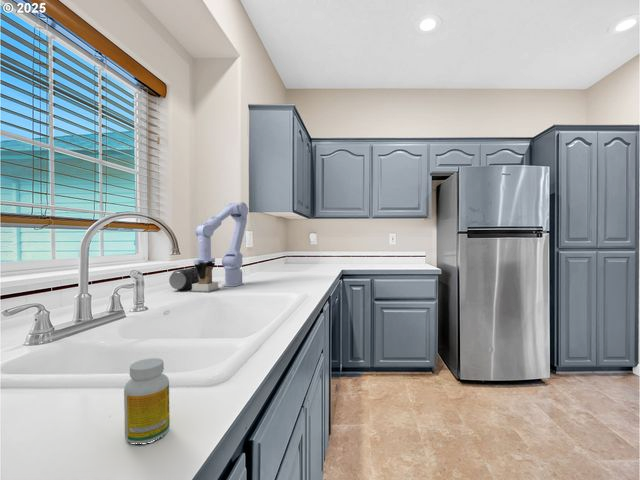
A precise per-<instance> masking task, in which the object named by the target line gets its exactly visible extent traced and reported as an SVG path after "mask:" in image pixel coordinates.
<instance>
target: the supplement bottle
mask: <svg viewBox="0 0 640 480" xmlns="http://www.w3.org/2000/svg"><path fill="white" fill-rule="evenodd" d="M164 366H165V365H164V360H163V359H162V358H157V357H155V358H154V357H151V358H146V359H145V358H144V359H141V360H138V361H135V362H133V363H132V364H130V366H129V377H130V379H129V380H128V381H127V382H126V383H125V385H124V389H123V397H124V400H123V401H124V402H123V403H124V404H123V405H124V408H123V409H124V440H125V441H126V443H128V442H130V443H135V444H136V443H137V444H140V443H141V444H142V443H148V442H151V441H153V440H156V439H158V438H160V437H162V436H163V435H164V434H166V435H167V433H168V432H169V430H170V428H171V427H170V426H171V425H170V422H171V421H170V380H169V377H168V375H166V374H165V373H164V369H165V367H164ZM169 427H170V428H169ZM167 431H168V432H167ZM163 437H164V436H163ZM163 437H162V438H163Z"/></svg>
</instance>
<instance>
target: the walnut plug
mask: <svg viewBox="0 0 640 480" xmlns="http://www.w3.org/2000/svg"><path fill="white" fill-rule="evenodd" d="M212 282H213V269H212V266H207V267H206V270H205V278H204V279H200V277H199V284H209V283H212Z"/></svg>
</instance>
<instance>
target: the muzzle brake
mask: <svg viewBox="0 0 640 480" xmlns="http://www.w3.org/2000/svg"><path fill="white" fill-rule="evenodd" d="M168 281H169V286H171V288H173V289H175V290H179V291H186V290H189V288H192V284H194V283H199V274H198V271H197V269H196V267H195V266H194V267H190V268H185V269H184V268H183V269H177V270H175V271H173V272H172V273H171V274H170V276H169V280H168Z"/></svg>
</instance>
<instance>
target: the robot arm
mask: <svg viewBox="0 0 640 480" xmlns="http://www.w3.org/2000/svg"><path fill="white" fill-rule="evenodd" d="M248 214H249V207H248V205H247V204H246V202H243V201H242V202H236V203H235V202H232V203H229V204H227V205H226V206H225V208H224V209H223V210H221V212H219V214H217V215H212V216H210V217H209V219H207V220H206V221H204V222H203V224H202V225H198V226H197V227H196V229H195V235H196V237H197V238H196V239H197V240H198V248H197V249H198V252H197V253H198V254H197V255H198V259H194V260H193V265H194V267H196V269H197V271H198V274H199V277H200V279H204V278H205V270H206V267H207V266H212V270H213V268H214V267H215V265H216V263H215V262H216V258H215V257H212V243H211V242H212V236H213V235H214V232H215V231H216V230H217V229H218V228H219V227H220V226H221V225H222V221H224V220H226V219H227V218H228V217H229V216H230V217H231V218H232V219H233V220H234V221H235V224H234V229H233V231H232V237H231V241H230V245H229V248H228V250H227V251H226V252H224V255H223V257H222V259H221V265H222V267H223V269H224V272H225V273H224V276H225V278H224V279H225V281H224V282H225V284H224V283H223V285H222V287H239V286H242V285H244V284H245V283H244V282H243V271H242V269H241V267H242V265H243V257H244V256H243V254H242V253H241V248H242V243H243V238H244V235H245V231H246V226H247V222H248Z"/></svg>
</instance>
